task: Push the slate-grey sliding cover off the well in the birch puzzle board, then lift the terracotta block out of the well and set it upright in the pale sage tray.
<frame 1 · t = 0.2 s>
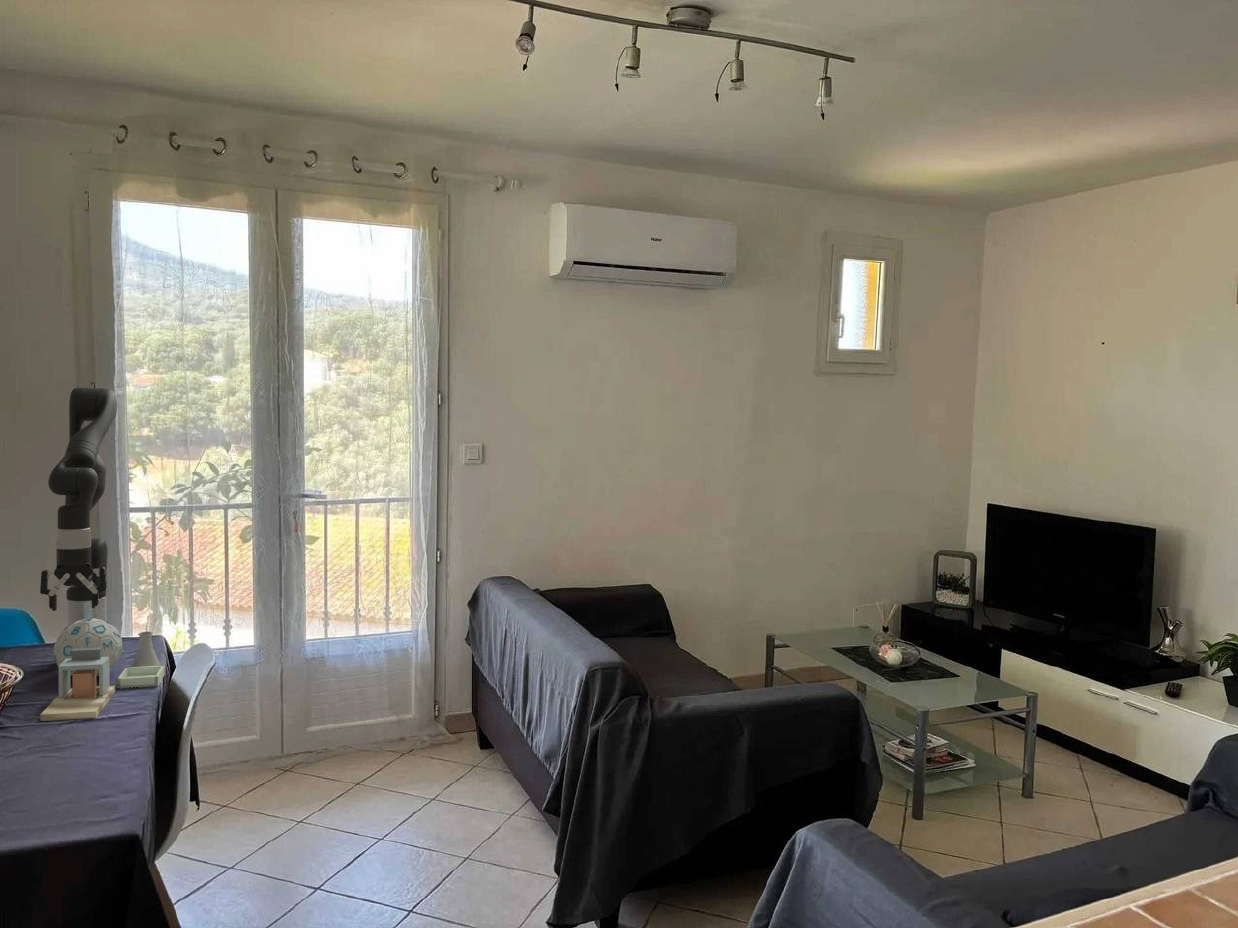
hand: (74, 609, 222), 18 cm above the table, tool pointing down, fingers open, 8 cm apart
flask: (145, 670, 232), on the table
terracotta block: (84, 699, 209), resting in puzzle board
puzzle board: (79, 705, 205), on the table
pale sage tray: (141, 681, 222), on the table
sliding cover: (84, 671, 208), point 7 cm above the table, slide at 0.0 cm
puzzle ball: (88, 677, 225), on the table
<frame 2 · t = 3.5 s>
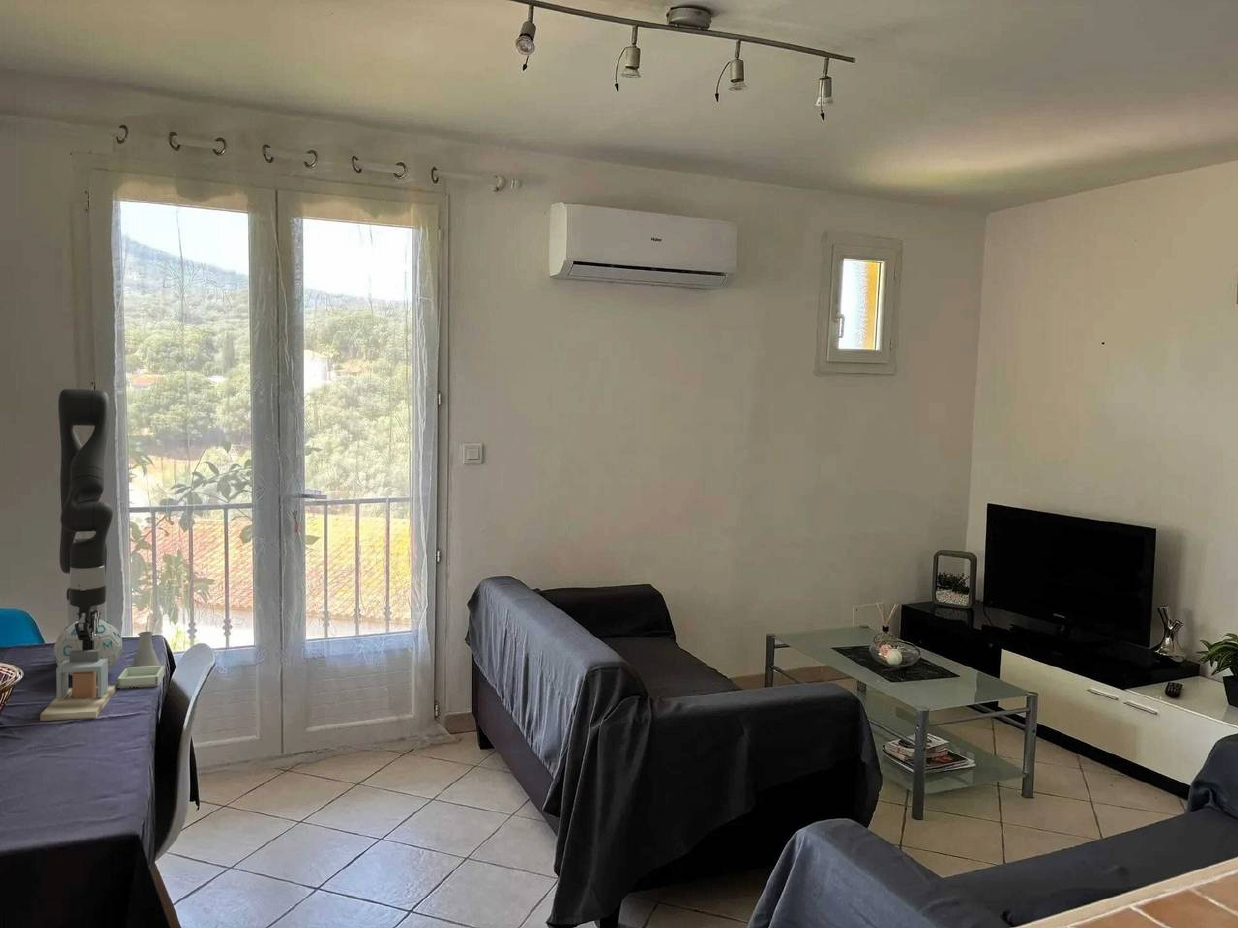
hand: (88, 654, 211), 10 cm above the table, tool pointing down, fingers closed
sliding cover: (82, 673, 207), point 7 cm above the table, slide at 1.6 cm, touching gripper
everything else where it was.
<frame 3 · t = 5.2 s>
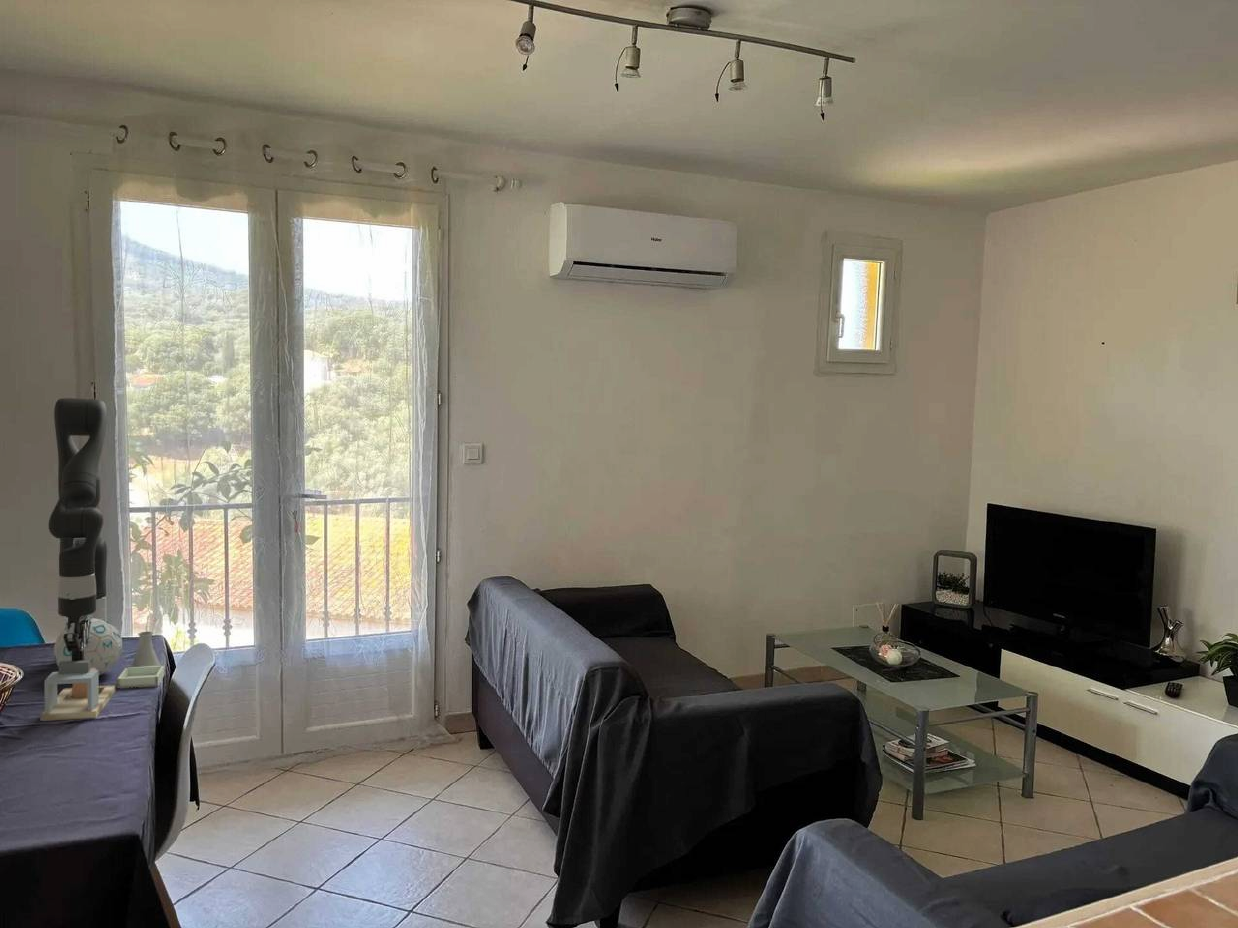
hand: (78, 666, 203), 10 cm above the table, tool pointing down, fingers closed
sliding cover: (72, 685, 199), point 7 cm above the table, slide at 10.0 cm, touching gripper
everything else where it was.
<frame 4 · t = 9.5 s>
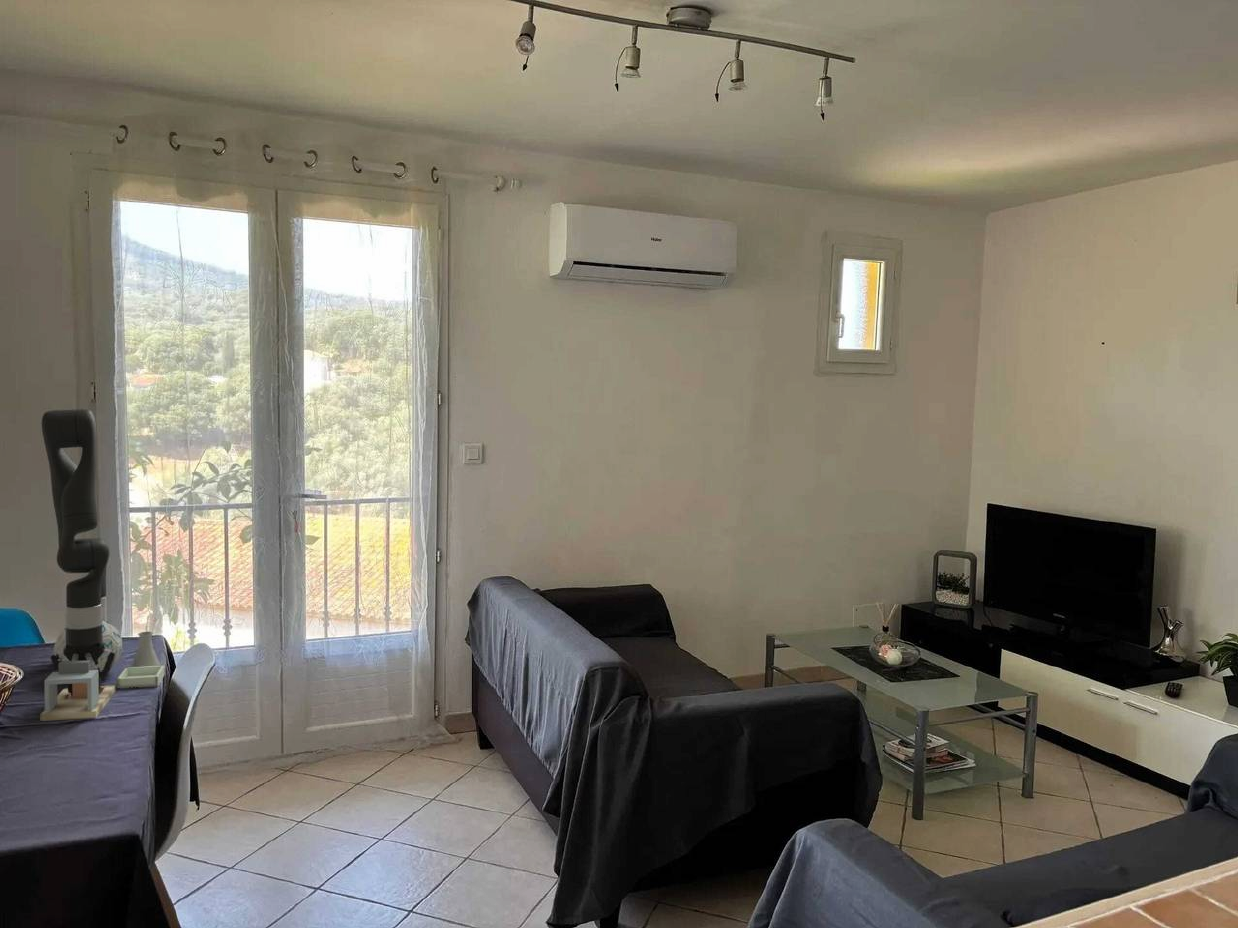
hand: (84, 693, 209), 1 cm above the table, tool pointing down, fingers closed on terracotta block, 4 cm apart
terracotta block: (84, 699, 209), resting in puzzle board, touching gripper
sliding cover: (72, 685, 199), point 7 cm above the table, slide at 10.0 cm
everything else where it was.
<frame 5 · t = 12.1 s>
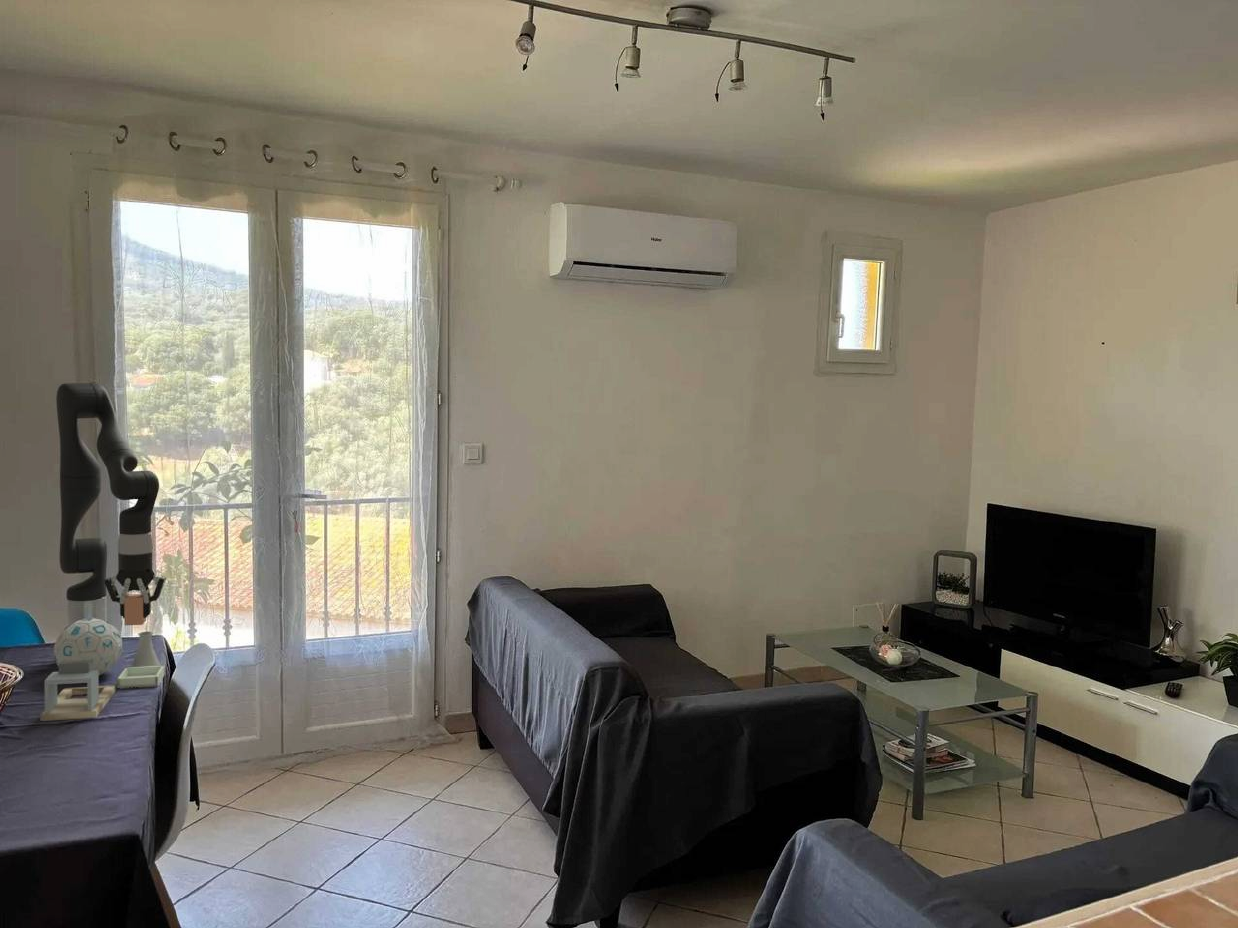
hand: (135, 617, 220), 17 cm above the table, tool pointing down, fingers closed on terracotta block, 4 cm apart
terracotta block: (135, 622, 220), point 16 cm above the table, touching gripper
everything else where it was.
when the fingers open (4 cm above the table, at t = 14.8 s): terracotta block drops 1 cm, resting on pale sage tray.
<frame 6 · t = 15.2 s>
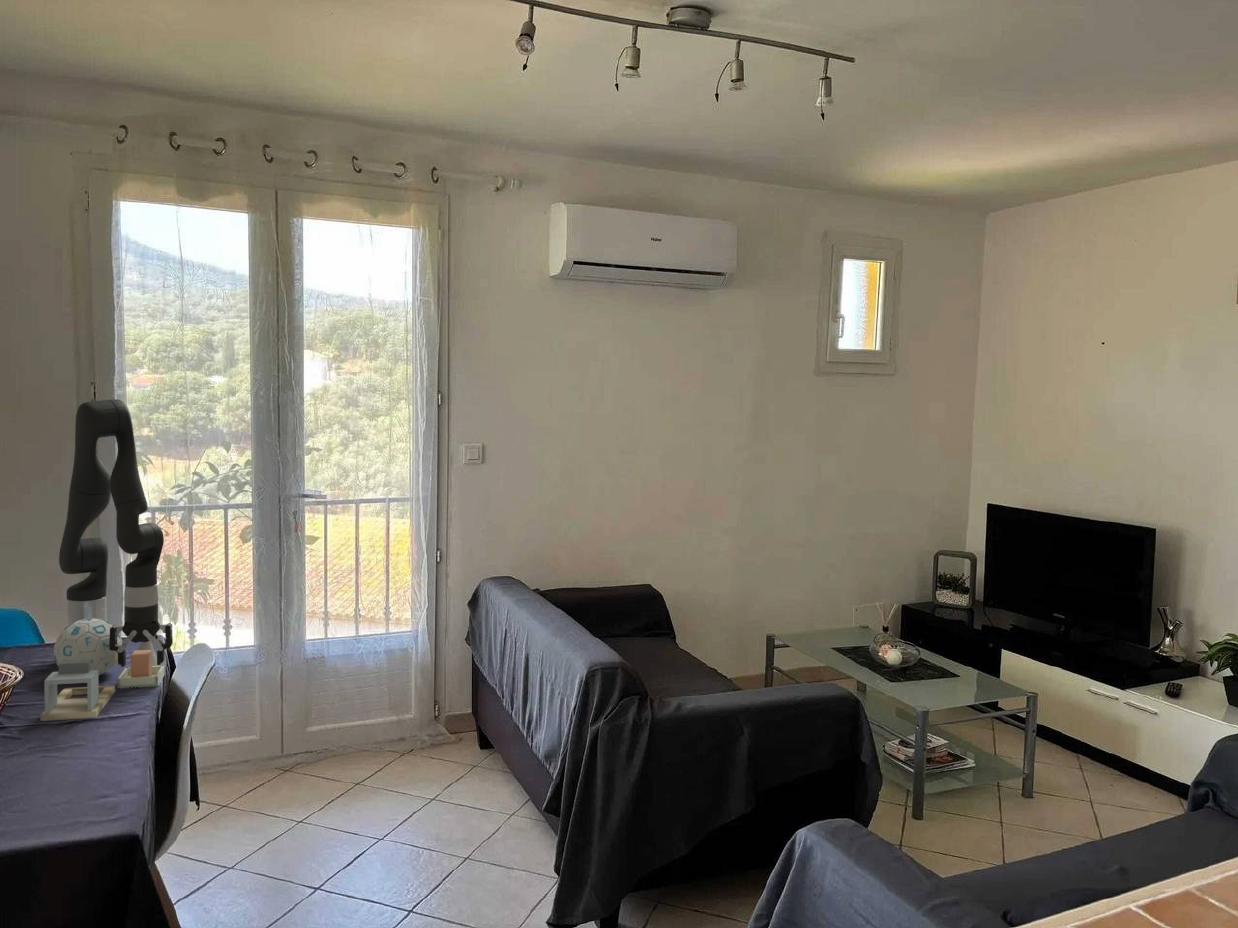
hand: (141, 665, 222), 4 cm above the table, tool pointing down, fingers open, 8 cm apart
terracotta block: (141, 679, 222), point 1 cm above the table, touching pale sage tray
everything else where it was.
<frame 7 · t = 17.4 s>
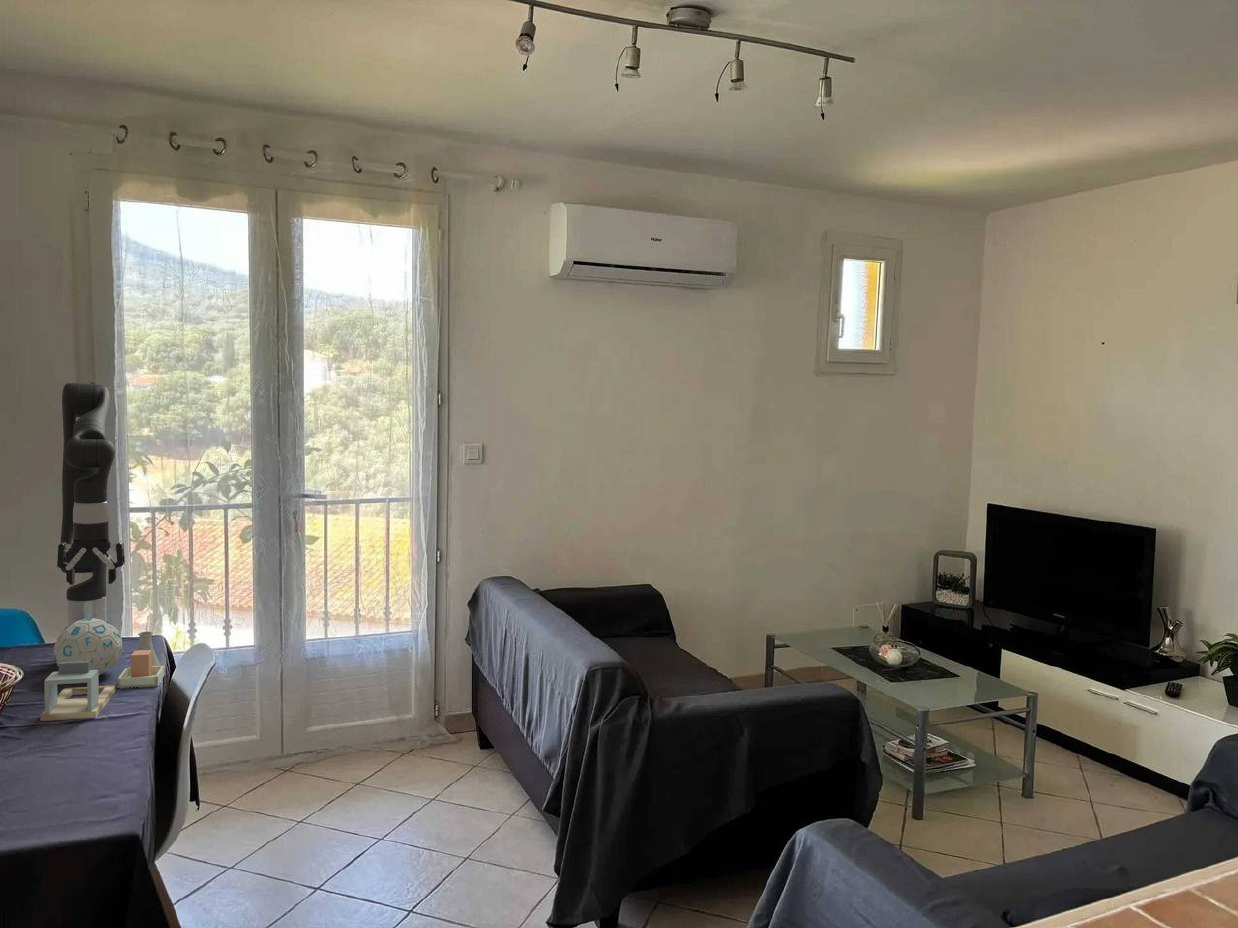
hand: (91, 583, 217), 26 cm above the table, tool pointing down, fingers open, 8 cm apart
nothing on the table moved.
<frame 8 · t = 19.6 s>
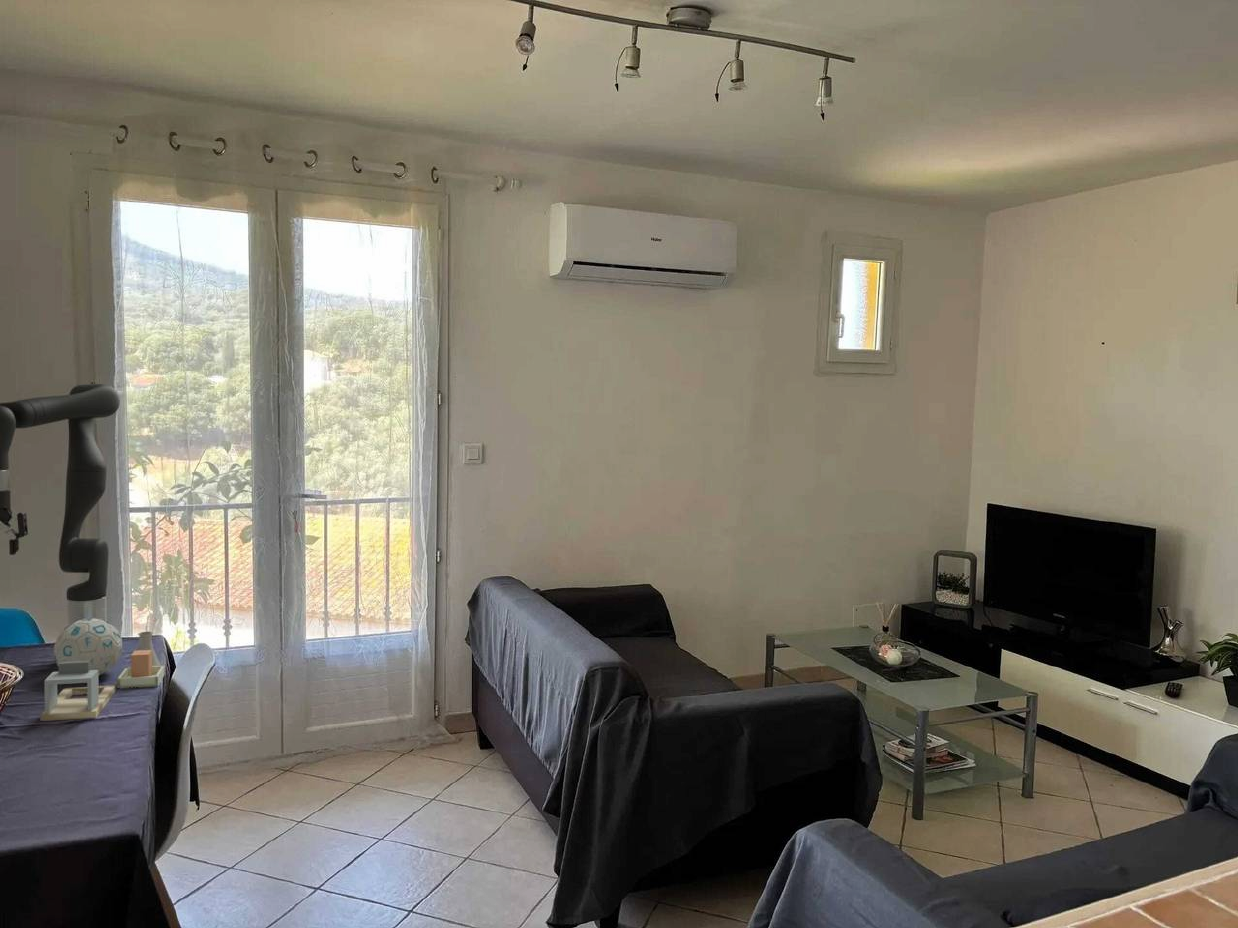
nothing on the table moved.
at the end: sliding cover slide at 10.0 cm; terracotta block 0.0 cm off-centre on the pale sage tray, point 0.6 cm above the pale sage tray's base; terracotta block tilted 0° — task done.
